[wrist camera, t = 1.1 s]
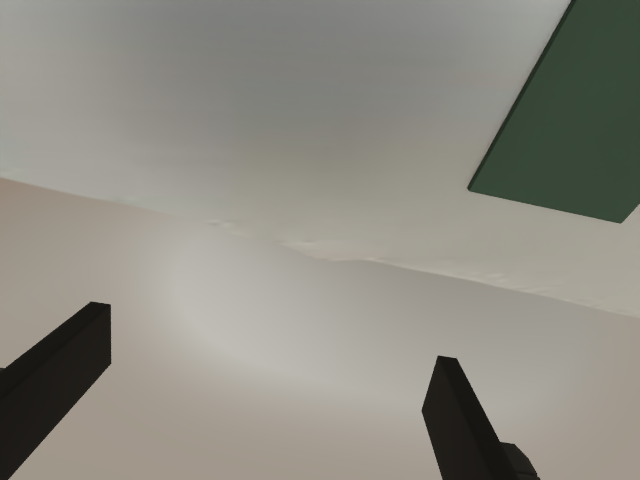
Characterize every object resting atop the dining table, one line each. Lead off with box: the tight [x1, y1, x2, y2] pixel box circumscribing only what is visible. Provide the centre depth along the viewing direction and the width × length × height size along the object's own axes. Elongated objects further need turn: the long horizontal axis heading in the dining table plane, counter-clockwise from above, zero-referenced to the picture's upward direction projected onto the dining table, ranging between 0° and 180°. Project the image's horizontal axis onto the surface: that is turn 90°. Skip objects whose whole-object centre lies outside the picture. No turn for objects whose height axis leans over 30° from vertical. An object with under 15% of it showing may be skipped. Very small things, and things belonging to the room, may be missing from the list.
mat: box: [468, 0, 640, 223], centre depth 26 cm, size 20×14×1 cm
